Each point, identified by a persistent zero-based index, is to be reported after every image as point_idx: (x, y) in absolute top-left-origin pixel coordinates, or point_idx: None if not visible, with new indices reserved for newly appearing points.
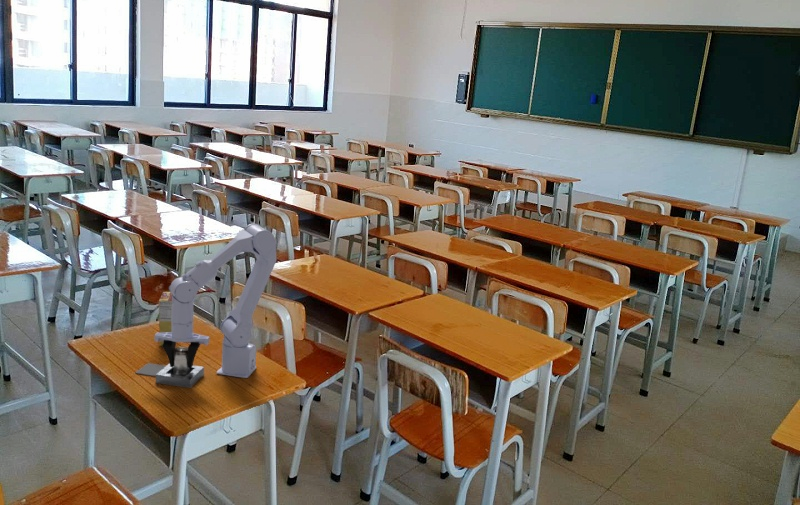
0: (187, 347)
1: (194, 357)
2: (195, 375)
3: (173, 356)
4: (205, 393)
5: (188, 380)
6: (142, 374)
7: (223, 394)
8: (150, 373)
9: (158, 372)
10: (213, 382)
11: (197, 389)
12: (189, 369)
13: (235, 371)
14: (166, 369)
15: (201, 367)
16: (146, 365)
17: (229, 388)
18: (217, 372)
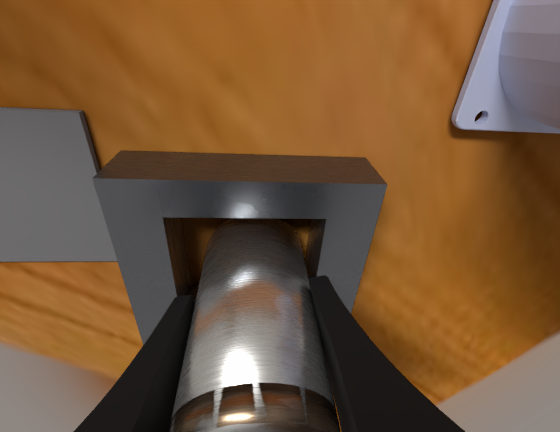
0: (290, 425)
1: (355, 323)
2: (354, 290)
3: (178, 381)
4: (409, 316)
5: None
6: (17, 257)
7: (485, 304)
8: (53, 247)
9: (139, 327)
10: (435, 227)
11: (368, 301)
12: (308, 280)
13: None
14: (154, 288)
15: (369, 199)
16: None
17: (517, 257)
18: (463, 128)
